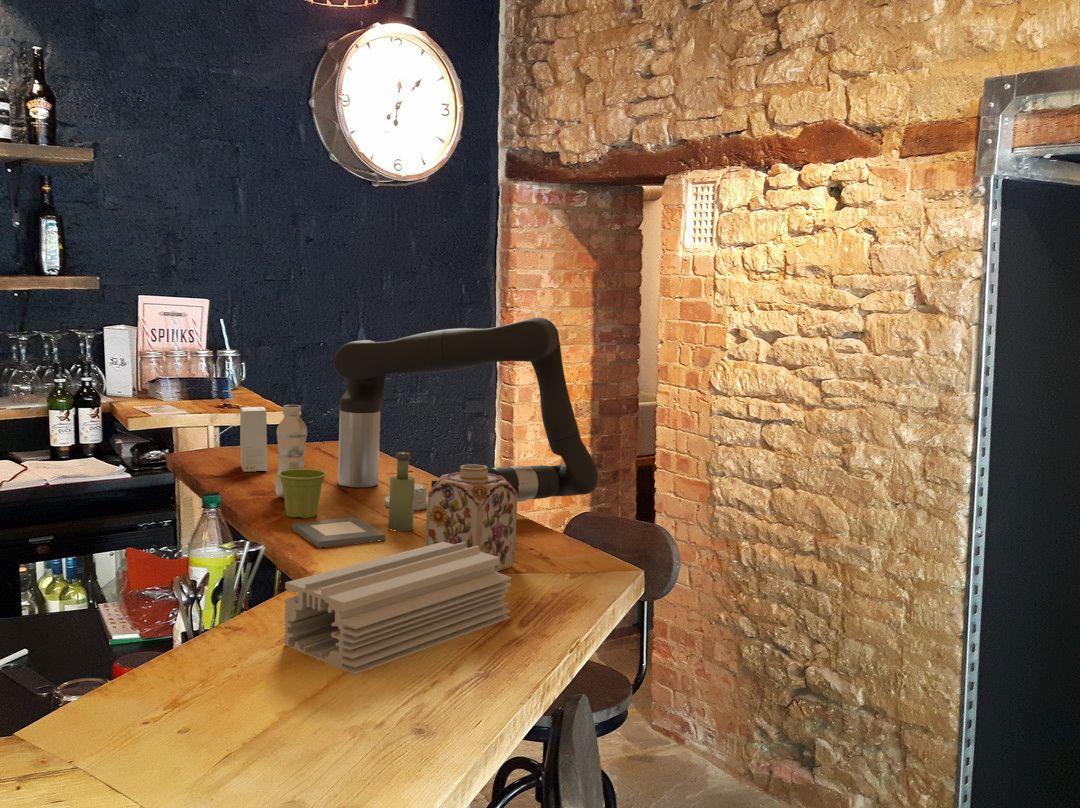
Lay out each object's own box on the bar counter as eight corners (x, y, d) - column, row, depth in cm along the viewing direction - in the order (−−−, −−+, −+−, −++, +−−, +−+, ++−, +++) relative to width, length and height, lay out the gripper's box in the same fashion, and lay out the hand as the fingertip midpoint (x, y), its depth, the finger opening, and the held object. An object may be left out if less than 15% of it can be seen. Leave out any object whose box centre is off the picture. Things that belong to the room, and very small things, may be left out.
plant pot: (268, 513, 211) (268, 471, 210) (307, 507, 218) (308, 466, 217) (294, 523, 205) (295, 480, 204) (334, 516, 212) (335, 474, 211)
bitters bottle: (384, 526, 206) (386, 451, 204) (406, 524, 208) (409, 450, 206) (394, 532, 202) (397, 456, 200) (417, 530, 204) (419, 454, 202)
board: (292, 529, 200) (292, 522, 200) (355, 523, 207) (355, 516, 207) (318, 548, 188) (318, 541, 188) (385, 540, 196) (385, 534, 195)
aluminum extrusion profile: (509, 620, 157) (512, 555, 156) (355, 677, 133) (357, 601, 132) (441, 597, 166) (443, 536, 164) (284, 647, 142) (285, 576, 141)
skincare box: (267, 472, 250) (268, 410, 248) (241, 472, 248) (242, 410, 246) (264, 465, 258) (265, 405, 256) (239, 465, 256) (239, 405, 254)
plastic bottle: (268, 498, 224) (269, 406, 221) (287, 492, 230) (288, 402, 227) (293, 502, 221) (295, 409, 218) (312, 496, 227) (314, 405, 225)
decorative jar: (477, 582, 174) (481, 476, 171) (422, 568, 180) (425, 465, 177) (516, 566, 184) (521, 465, 181) (463, 553, 190) (467, 456, 187)
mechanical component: (426, 513, 219) (435, 502, 229) (426, 492, 219) (436, 482, 228) (379, 509, 220) (391, 499, 230) (380, 489, 220) (391, 479, 229)
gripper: (494, 460, 223) (426, 465, 214) (530, 473, 211) (459, 479, 202) (493, 494, 224) (425, 500, 215) (528, 509, 212) (458, 516, 203)
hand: (441, 490), depth 209 cm, fingers open, 8 cm apart
